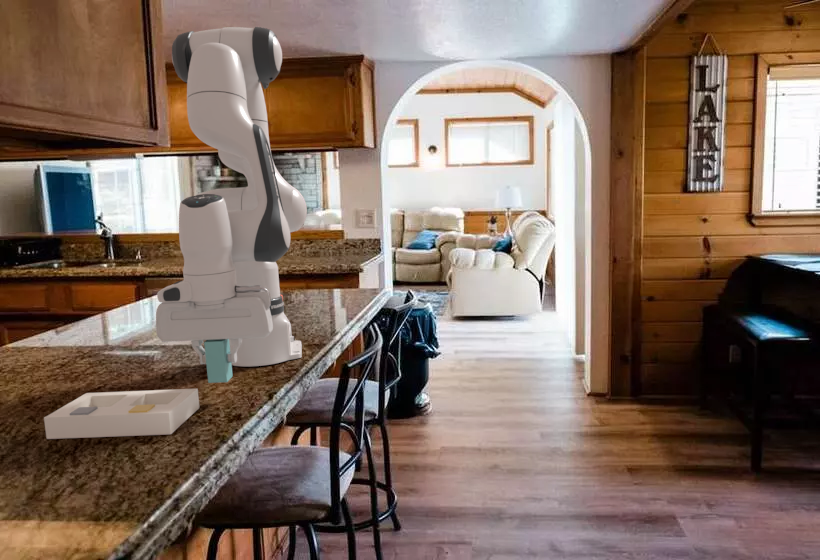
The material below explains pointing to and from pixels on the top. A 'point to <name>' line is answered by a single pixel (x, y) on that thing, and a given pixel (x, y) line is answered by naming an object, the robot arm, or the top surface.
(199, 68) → the robot arm
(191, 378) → the top surface
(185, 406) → the socket block
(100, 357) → the top surface
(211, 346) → the plug
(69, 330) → the top surface
